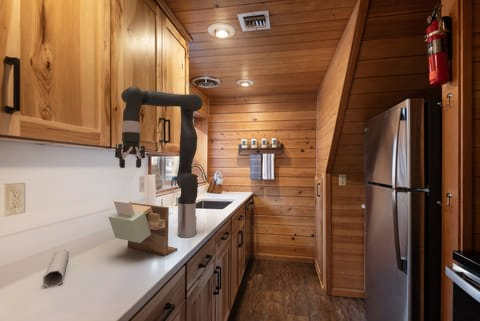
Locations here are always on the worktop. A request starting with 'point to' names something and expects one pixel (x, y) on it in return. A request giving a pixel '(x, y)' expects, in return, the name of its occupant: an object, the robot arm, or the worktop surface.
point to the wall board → (155, 233)
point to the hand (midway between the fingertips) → (130, 167)
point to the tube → (56, 269)
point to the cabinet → (130, 221)
